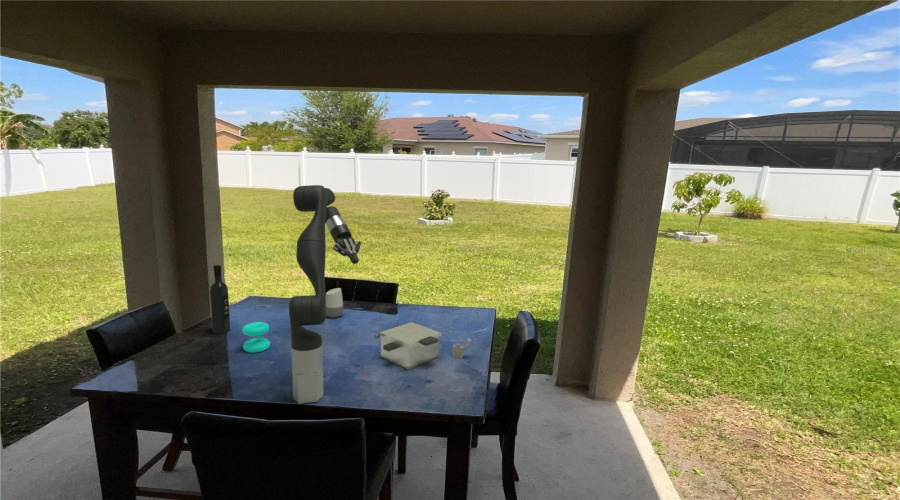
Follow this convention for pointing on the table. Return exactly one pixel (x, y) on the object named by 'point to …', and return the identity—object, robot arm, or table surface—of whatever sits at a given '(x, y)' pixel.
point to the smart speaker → (334, 303)
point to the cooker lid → (412, 335)
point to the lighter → (460, 349)
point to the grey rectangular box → (407, 352)
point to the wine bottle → (219, 303)
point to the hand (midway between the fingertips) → (356, 262)
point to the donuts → (256, 343)
